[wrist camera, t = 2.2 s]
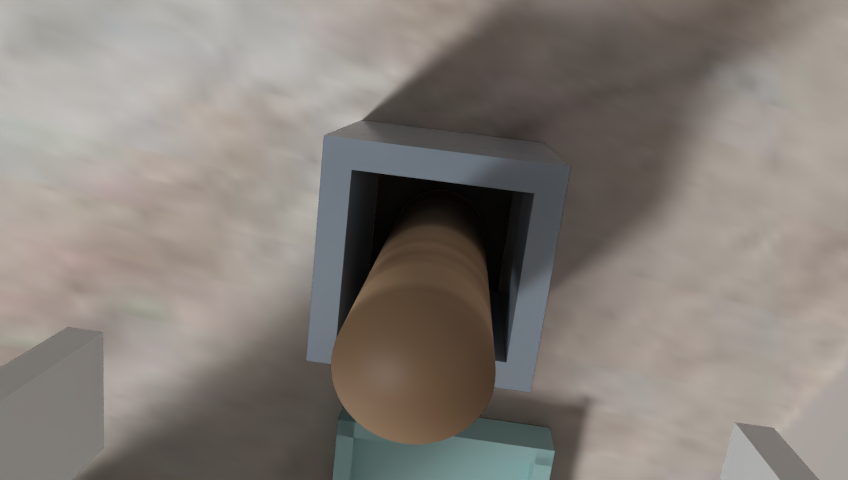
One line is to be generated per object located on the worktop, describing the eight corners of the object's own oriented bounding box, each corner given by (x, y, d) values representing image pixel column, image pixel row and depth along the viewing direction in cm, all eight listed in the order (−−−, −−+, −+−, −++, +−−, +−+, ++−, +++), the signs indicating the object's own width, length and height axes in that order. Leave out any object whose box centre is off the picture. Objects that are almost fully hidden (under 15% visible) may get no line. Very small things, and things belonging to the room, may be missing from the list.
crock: (361, 120, 28) (324, 135, 21) (544, 143, 28) (571, 166, 20) (345, 292, 30) (306, 360, 23) (515, 315, 30) (530, 392, 22)
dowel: (400, 184, 29) (337, 281, 15) (489, 195, 28) (507, 304, 15) (391, 269, 30) (324, 432, 16) (477, 280, 29) (483, 455, 16)
